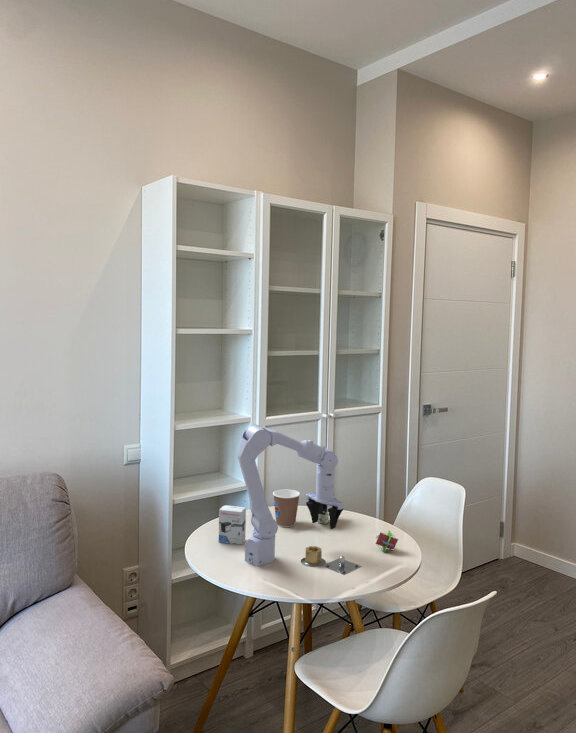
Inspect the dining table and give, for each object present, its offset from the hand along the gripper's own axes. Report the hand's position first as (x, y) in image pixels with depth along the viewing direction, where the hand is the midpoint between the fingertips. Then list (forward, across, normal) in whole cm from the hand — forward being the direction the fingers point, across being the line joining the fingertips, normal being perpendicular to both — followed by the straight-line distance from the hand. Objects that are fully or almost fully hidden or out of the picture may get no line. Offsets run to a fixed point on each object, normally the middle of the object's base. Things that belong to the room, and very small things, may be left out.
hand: (323, 525), depth 200 cm
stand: (+10, -3, +9) cm, 14 cm away
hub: (+10, -12, +5) cm, 16 cm away
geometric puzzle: (+10, -13, -18) cm, 25 cm away
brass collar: (+9, -3, +9) cm, 13 cm away
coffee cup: (+10, +28, -12) cm, 32 cm away
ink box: (+10, +29, +14) cm, 34 cm away
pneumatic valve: (+10, +19, -24) cm, 32 cm away
